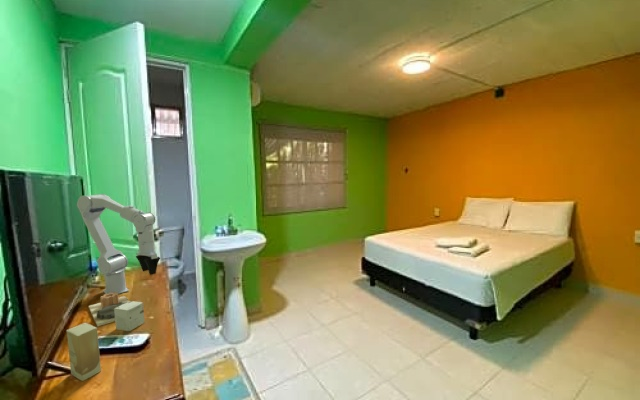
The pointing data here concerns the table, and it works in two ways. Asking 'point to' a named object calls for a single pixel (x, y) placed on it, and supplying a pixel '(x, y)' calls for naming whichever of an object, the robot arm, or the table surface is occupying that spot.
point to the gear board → (98, 307)
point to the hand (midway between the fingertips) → (149, 272)
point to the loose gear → (109, 299)
